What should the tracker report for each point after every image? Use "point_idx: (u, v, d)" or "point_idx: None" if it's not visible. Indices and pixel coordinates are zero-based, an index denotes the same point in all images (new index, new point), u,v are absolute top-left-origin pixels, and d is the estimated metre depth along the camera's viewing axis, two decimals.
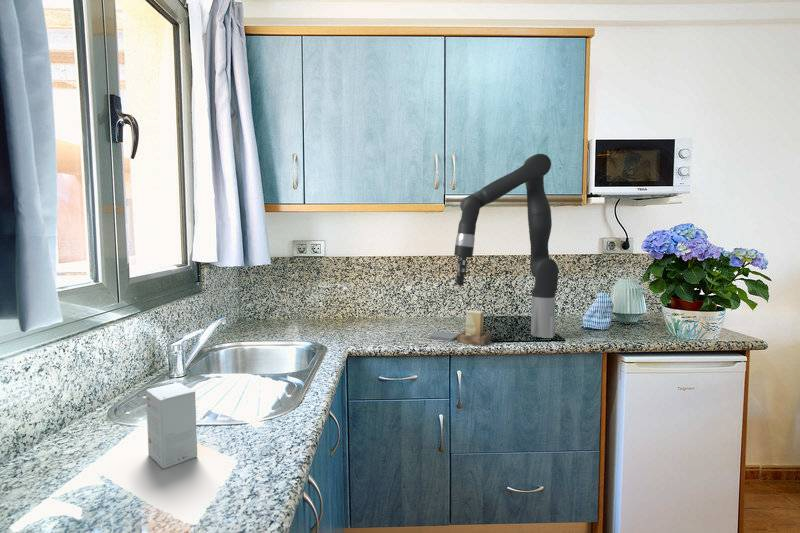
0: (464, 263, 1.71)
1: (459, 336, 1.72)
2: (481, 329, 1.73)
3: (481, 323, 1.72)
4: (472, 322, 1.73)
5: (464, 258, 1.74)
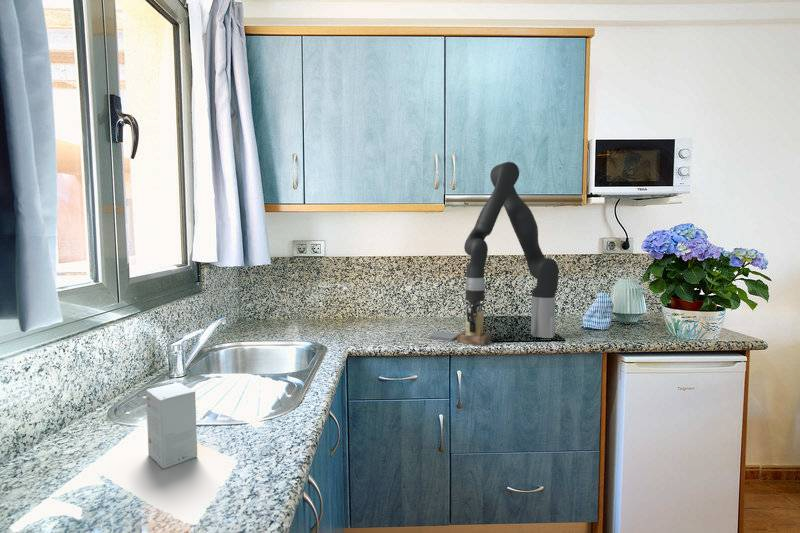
0: (470, 312, 1.68)
1: (459, 336, 1.72)
2: (481, 329, 1.73)
3: (481, 323, 1.72)
4: None
5: (472, 303, 1.70)
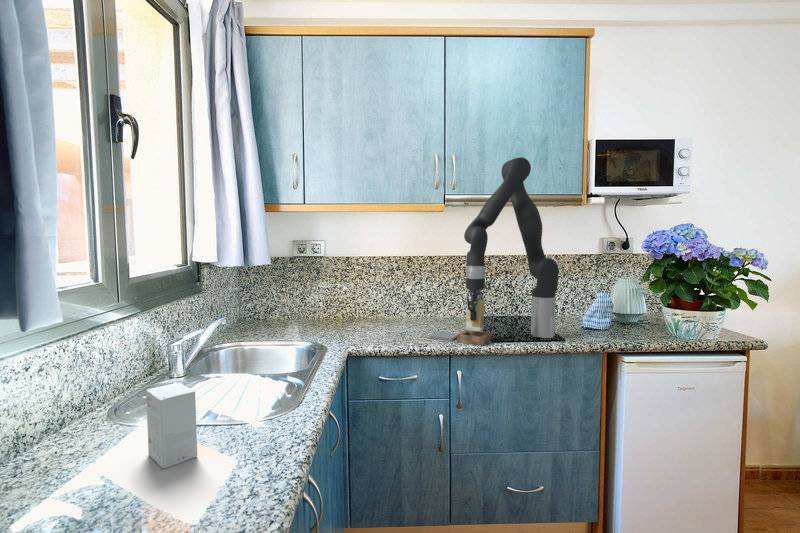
0: (470, 300, 1.68)
1: (459, 336, 1.72)
2: (482, 317, 1.72)
3: (482, 311, 1.72)
4: None
5: (473, 291, 1.70)
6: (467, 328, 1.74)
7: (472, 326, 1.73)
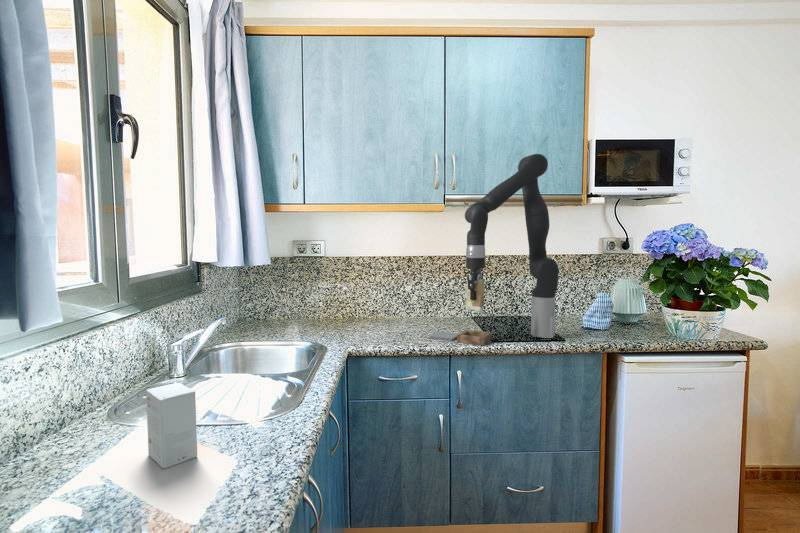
0: (470, 279, 1.67)
1: (459, 336, 1.72)
2: (482, 297, 1.72)
3: (482, 291, 1.71)
4: None
5: (473, 270, 1.69)
6: (467, 308, 1.73)
7: (472, 305, 1.72)
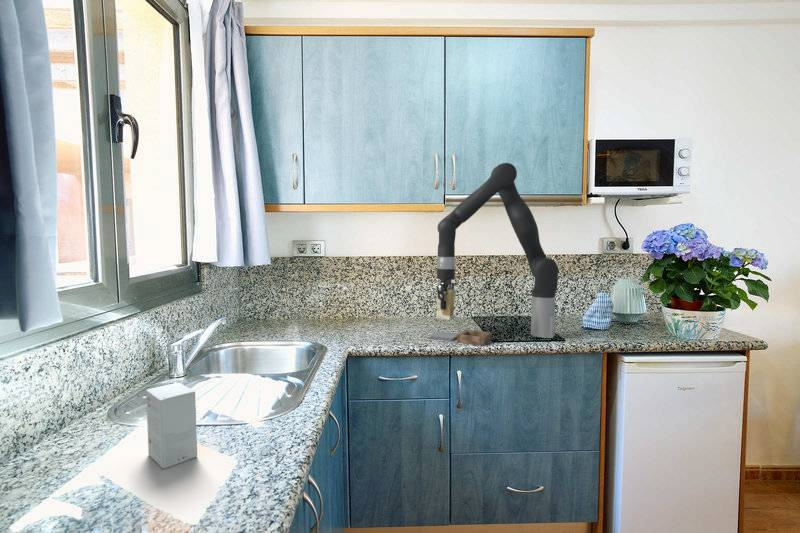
0: (440, 289, 1.75)
1: (459, 336, 1.72)
2: (451, 306, 1.79)
3: (451, 301, 1.79)
4: None
5: (443, 281, 1.77)
6: (437, 317, 1.81)
7: (442, 314, 1.79)
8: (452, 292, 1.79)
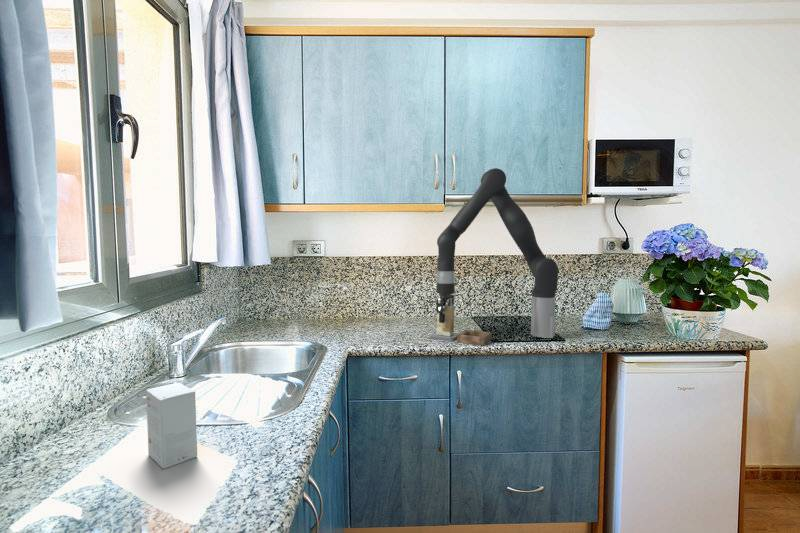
0: (439, 302, 1.75)
1: (459, 336, 1.72)
2: (452, 323, 1.80)
3: (451, 317, 1.79)
4: None
5: (442, 295, 1.77)
6: (438, 333, 1.81)
7: (442, 331, 1.80)
8: (452, 308, 1.79)
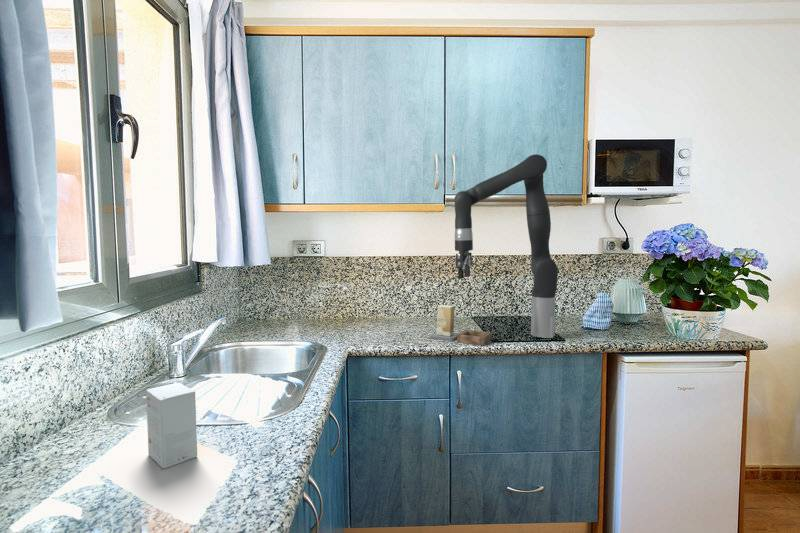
0: (459, 257, 1.78)
1: (459, 336, 1.72)
2: (452, 323, 1.80)
3: (451, 317, 1.79)
4: (443, 316, 1.79)
5: (461, 252, 1.80)
6: (438, 333, 1.81)
7: (442, 331, 1.80)
8: (452, 308, 1.79)
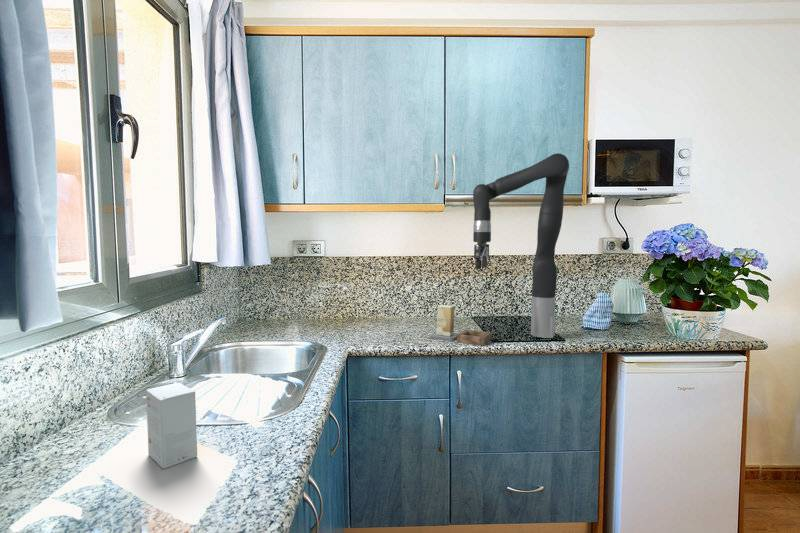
0: (477, 247, 1.83)
1: (459, 336, 1.72)
2: (452, 323, 1.80)
3: (451, 317, 1.79)
4: (443, 316, 1.79)
5: (480, 243, 1.86)
6: (438, 333, 1.81)
7: (442, 331, 1.80)
8: (452, 308, 1.79)
